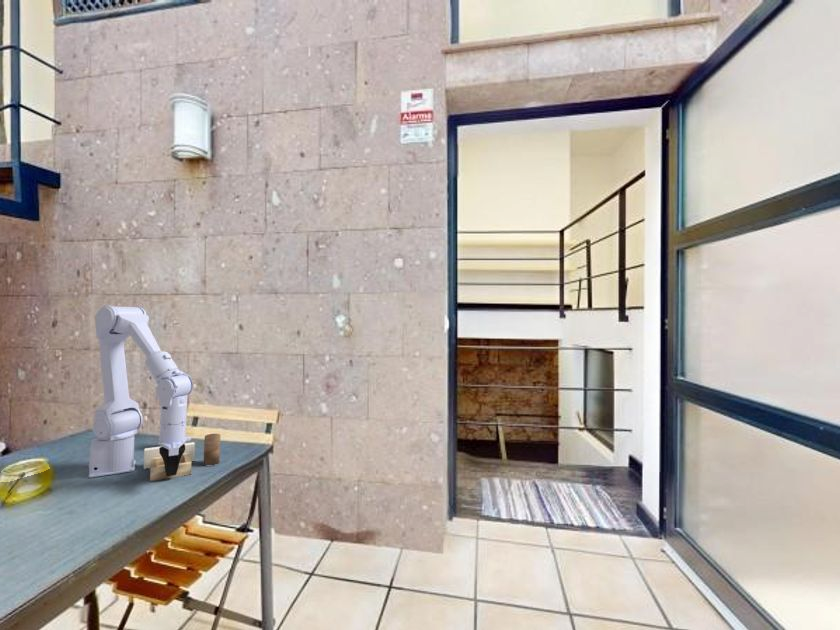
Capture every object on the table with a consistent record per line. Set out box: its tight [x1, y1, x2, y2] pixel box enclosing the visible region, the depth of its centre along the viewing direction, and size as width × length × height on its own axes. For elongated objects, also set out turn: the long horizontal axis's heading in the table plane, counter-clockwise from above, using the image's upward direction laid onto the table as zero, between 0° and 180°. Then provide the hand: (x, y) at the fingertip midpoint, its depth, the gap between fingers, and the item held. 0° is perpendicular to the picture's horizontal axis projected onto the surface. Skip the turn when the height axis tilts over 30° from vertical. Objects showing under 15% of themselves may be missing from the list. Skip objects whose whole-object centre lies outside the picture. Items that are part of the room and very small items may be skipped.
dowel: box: [203, 433, 221, 466], centre depth 113 cm, size 4×4×8 cm
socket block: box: [149, 453, 192, 482], centre depth 106 cm, size 9×9×3 cm
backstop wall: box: [143, 441, 196, 470], centre depth 112 cm, size 12×2×5 cm, turn 124°
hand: (171, 474), depth 102 cm, fingers closed
